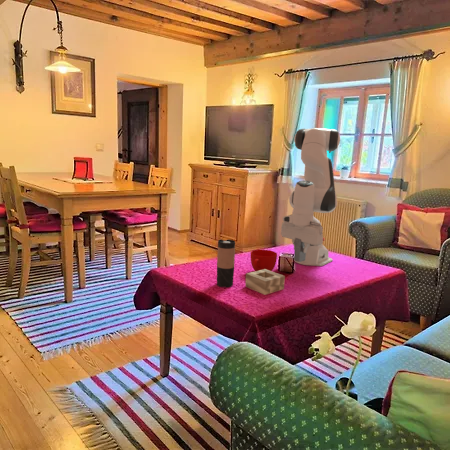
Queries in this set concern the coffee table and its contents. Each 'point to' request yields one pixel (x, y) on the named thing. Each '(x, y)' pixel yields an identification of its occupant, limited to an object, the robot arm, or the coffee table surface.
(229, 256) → the travel mug
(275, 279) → the well block
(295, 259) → the grey rectangular block
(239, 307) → the coffee table surface
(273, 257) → the ceramic cup
